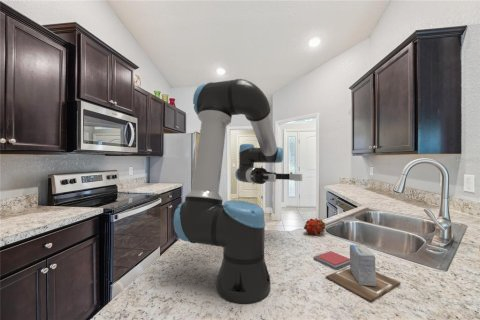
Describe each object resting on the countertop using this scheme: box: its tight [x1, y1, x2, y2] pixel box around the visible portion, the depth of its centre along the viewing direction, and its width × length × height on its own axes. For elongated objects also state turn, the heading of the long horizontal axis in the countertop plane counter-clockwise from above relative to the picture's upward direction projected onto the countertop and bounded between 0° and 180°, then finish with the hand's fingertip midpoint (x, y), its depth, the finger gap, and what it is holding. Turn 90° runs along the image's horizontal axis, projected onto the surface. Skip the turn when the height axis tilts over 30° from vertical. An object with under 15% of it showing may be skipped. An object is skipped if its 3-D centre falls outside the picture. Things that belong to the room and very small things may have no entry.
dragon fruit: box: [303, 217, 326, 237], centre depth 104 cm, size 8×8×12 cm
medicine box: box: [349, 244, 377, 286], centre depth 62 cm, size 8×4×9 cm, turn 169°
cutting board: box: [325, 265, 401, 303], centre depth 62 cm, size 16×13×1 cm
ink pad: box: [312, 250, 350, 271], centre depth 75 cm, size 10×9×1 cm
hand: (288, 177), depth 80 cm, fingers open, 13 cm apart
